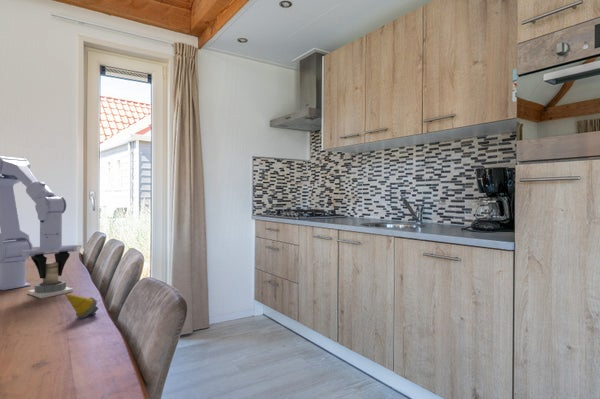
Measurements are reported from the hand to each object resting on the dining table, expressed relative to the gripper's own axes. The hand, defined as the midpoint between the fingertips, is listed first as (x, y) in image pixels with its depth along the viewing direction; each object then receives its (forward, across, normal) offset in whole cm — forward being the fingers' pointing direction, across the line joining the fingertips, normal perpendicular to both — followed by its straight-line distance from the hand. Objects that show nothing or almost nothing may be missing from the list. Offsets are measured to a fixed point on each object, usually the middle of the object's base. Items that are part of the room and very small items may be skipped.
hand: (50, 276), depth 114 cm
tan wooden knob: (+2, 0, 0) cm, 2 cm away
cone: (+5, -6, -33) cm, 34 cm away
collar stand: (+5, 0, 0) cm, 5 cm away
